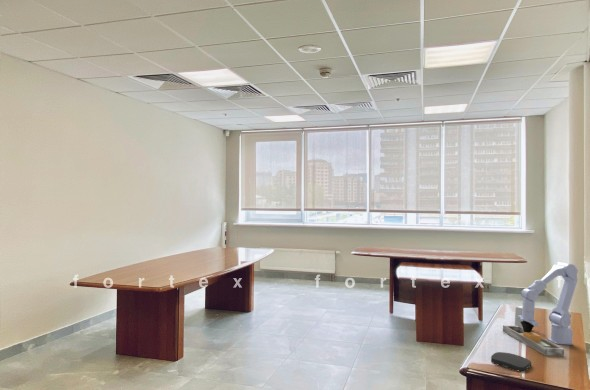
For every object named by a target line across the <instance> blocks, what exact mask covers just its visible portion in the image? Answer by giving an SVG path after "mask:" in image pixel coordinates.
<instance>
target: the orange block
mask: <svg viewBox="0 0 590 390" xmlns="http://www.w3.org/2000/svg"><path fill="white" fill-rule="evenodd" d="M523 336H525V337H527V338H529V339H531V340H532V341H534V342H541V337H542V335H540V334H538V333H536V332H533V331H531V332H523Z"/></svg>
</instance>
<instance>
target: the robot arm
mask: <svg viewBox="0 0 590 390" xmlns="http://www.w3.org/2000/svg"><path fill="white" fill-rule="evenodd" d="M578 272H579V269H578V268H577V266H576V265H574V264H573V263H567V262H563V261H557V262H556V263H554V264H553V265H552V268H551V269H550V270H549V271H548V272H547V273H546V274H545V275H544V276H543V277H542V278H541V279H537V280H536V279H535V280H534V281H533V283H532V284H530V285H529V286H528V287H527V288H524V289H522V290H521V292H520V297H521V299H522V306H523V307H522V315H518V318H519V319H521V320H523V321H521V324H522V327H523V330H524V332H532V331H533V328H534V327H539V322H537V321H536V320H535V307H536V306H535V305H536V303H535V301H536V300H538V298H539V295H540V294H541V293H542V292H543V291H544V290H545V289H546V288H547V284H549V283H550V282H551V281H553V280H554V279H556V278H557V277H562V279H563V280H564V282H563V285H562V287H561V291H560V295H559V298H558V302H557V304H556V307H553V308H552V310H551V312H550V313H549V315H548V320H549V321H550V324H551V328H550V331H551V332H550V338H549V337H548V338H546V340H547V341H549V342H551V343H553V344H555V345H568V346H569V345H572V346H573V345H574V343H573V329H572V328H571V327H570V326H571V322H572V320H571V317H572V315H571V313H570V311H569V309H570V306H571V303H572V301H573V300H572V299H573V296H574V293H575V289H576V286H577V283H578Z"/></svg>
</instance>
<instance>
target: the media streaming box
mask: <svg viewBox="0 0 590 390" xmlns="http://www.w3.org/2000/svg"><path fill="white" fill-rule="evenodd" d="M490 361H491V363H493V364H495V365H497V364H498V365H497V366H500V367H503V366H504V368H506V367H508V368H507V369H509V368H511V369H510V370H512V369H514V370H513V371H515V370H519V371H518V372H526V371H528V370H529V369H530V368H532V361H531V360H529V359H528V358H525V357H524V356H521V355H519V354H515V353H514V354H513V353H509V352H501V351H497V352H495V353H493V354H491V357H490ZM527 369H528V370H527Z"/></svg>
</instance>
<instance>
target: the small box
mask: <svg viewBox="0 0 590 390" xmlns="http://www.w3.org/2000/svg"><path fill="white" fill-rule="evenodd" d="M522 307H523V305H519V306H515V313H514V314H515V315H514V326H520V327H522V324H521V321H523V320H521V319H519V318H518V315H522ZM522 328H523V327H522Z"/></svg>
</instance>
